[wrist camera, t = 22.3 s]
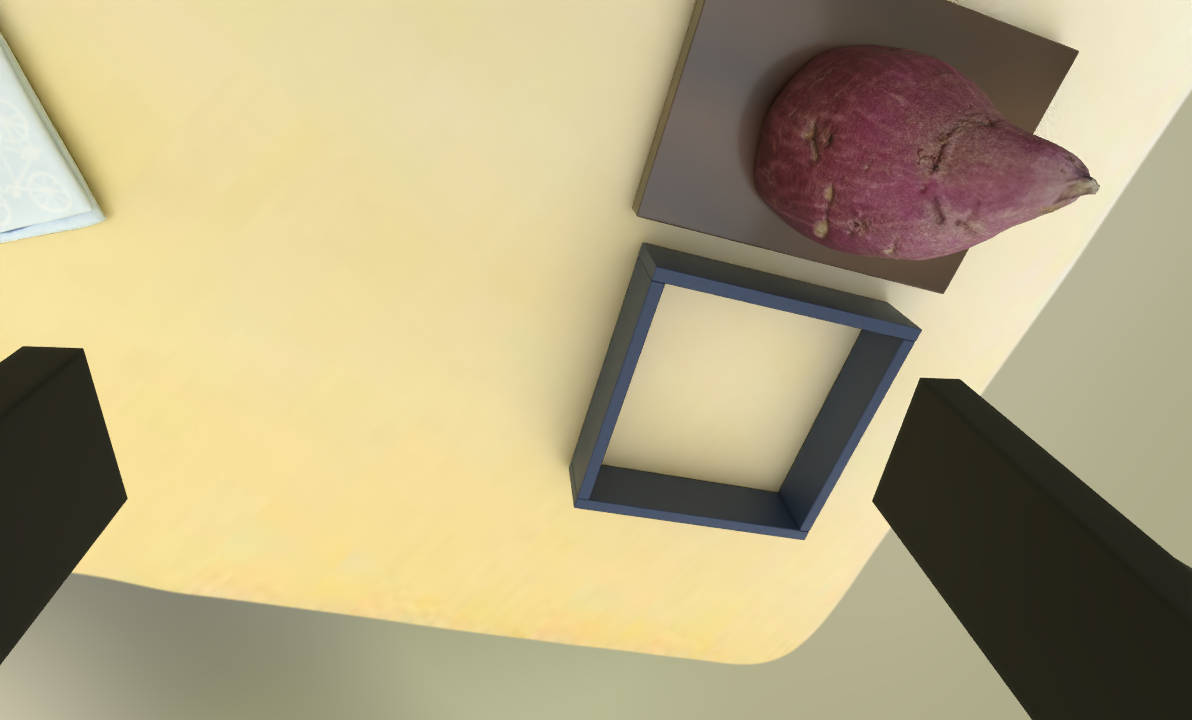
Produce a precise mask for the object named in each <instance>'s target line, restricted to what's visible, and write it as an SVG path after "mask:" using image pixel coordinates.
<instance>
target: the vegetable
mask: <svg viewBox="0 0 1192 720" xmlns="http://www.w3.org/2000/svg"><path fill="white" fill-rule="evenodd" d="M1022 124H1023V123H1022ZM754 173H755V184H756V189H757V191H758V193H759V195H760V197H761V198H762V199H763V200H764V202H765V203H766V204H767V205H768V206H769V207H770V208H771V209H772V210H773V211H774V212H775V213H776V214H777V215H778V216H779V217H780V218H781V219H782V220H783V221H784V222H785V223H786V224H788V225H789V226H790V227H792V228H793V229H794V230H796V231H797V232H799V233H800V234H801V235H803V236H805V237H807V238H809V239H811V240H812V241H814V242H816V243H819V244H821V245H823V246H825V247H828V248H830V249H833V250H836V251H840V252H844V253H849V254H854V255H860V256H868V257H879V258H889V259H894V260H896V259H905V260H926V259H932V258H937V257H942V256H946V255H949V254H953V253H956V252H960V251H962V250H965V249H968V248H970V247H972V246H974V245H977V244H979V243H981V242H983V241H986V240H988V239H990V238H993V237H994V236H996V235H997V234H999V233H1000V232H1002V231H1004V230H1007V229H1009V228H1011V227H1013V226H1015V225H1018V224H1021V223H1024V222H1027V221H1029V220H1032V219H1035V218H1037V217H1039V216H1042V215H1044V214H1047V213H1051V212H1053V211H1055V210H1058V209H1060V208H1062V207H1064V206H1066V205H1069V204H1071V203H1072V202H1074V201H1076V200H1077V199H1078V198H1079V197H1080V196H1082V195H1087V194H1096V192H1097V191H1098V189H1099V187H1100V185H1098V183H1097V182H1096V180H1095V179H1094V178H1092V177H1090V174H1089V170H1088V169H1087V167H1086V166H1085V165H1084V163H1083V162H1082V161H1081V160H1080V159H1079V158H1078V157H1077V156H1075V155H1074V154H1072V153H1070V152H1069V151H1067V150H1066V149H1064V148H1062V147H1060V146H1058V145H1057V144H1054V143H1052V142H1050V141H1048V140H1045V139H1043V138H1040V137H1038V136H1036V135H1033V134H1031V133H1028V132H1026V131H1024V129H1021V128H1019V127H1018V126H1016V125H1015V124H1013V123H1011V122H1010V121H1008V120H1007V119H1006V118H1005V117H1004V116H1003V115H1002V113H1001V112H1000V111H999V110H998V109H997V108H996V106H995V105H994V104H993V103H992V101H991V100H990V99H989V98H988V96H987V95H986V94H985V93H984V92H983V91H982V90H981V89H980V88H979V87H978V86H977V85H976V84H975V83H974V82H973V81H971V80H970V79H969V78H968V77H967V76H965V75H964V74H963V73H961V72H960V71H958V70H957V69H955V68H954V67H952V66H951V65H949V64H948V63H946V62H943V61H941V60H940V59H938V58H935V57H933V56H929V55H925V54H922V53H919V52H917V51H915V50H911V49H903V48H895V47H889V46H880V45H858V46H848V47H839V48H833V49H829V50H827V51H825V52H823V53H821V54H819V55H818V56H816V57H815V58H814V59H812V60H811V61H810V62H809V63H807V65H805V66H804V67H802V68H801V69H800V70H798V71H797V73H796V75H795V76H794V77H793V78H792V79H791V81H790V82H789V83H788V84H787V85H786V86H785V88H784V89H783V90H782V91H781V93H780V94H779V95H778V97H777V98H776V99H775V101H774V103H773V104H772V106H771V107H770V109H769V111H768V113H767V117H766V119H765V120H764V124H763V127H762V131H761V137H760V141H759V145H758V150H757V155H756V162H755V170H754Z"/></svg>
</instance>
